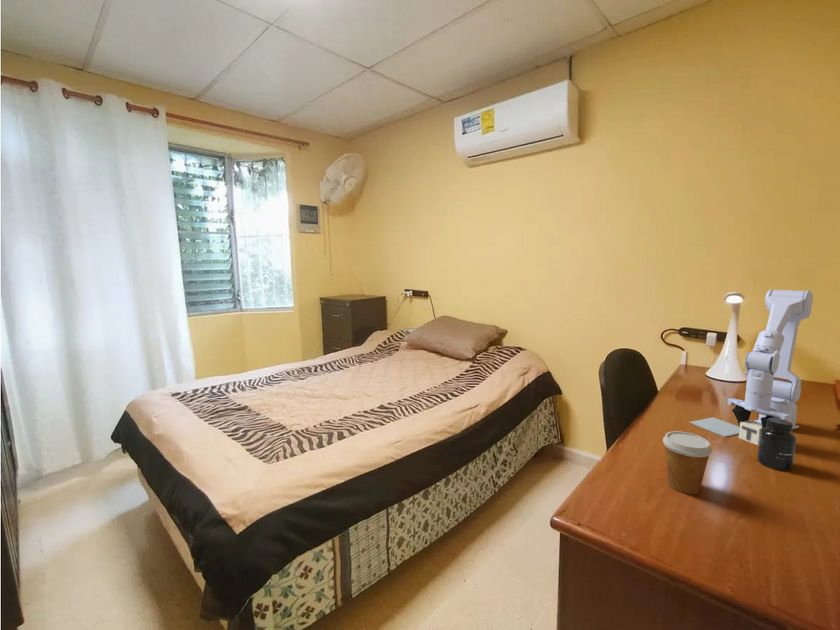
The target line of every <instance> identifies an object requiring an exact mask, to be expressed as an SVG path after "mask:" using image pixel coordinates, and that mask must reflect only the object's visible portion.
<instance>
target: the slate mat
mask: <svg viewBox="0 0 840 630" xmlns="http://www.w3.org/2000/svg"><path fill="white" fill-rule="evenodd" d="M691 423H692V425H693V424H694V426H695V427H698V428H701V429H703V430H707V431H709V432H712V433H713V434H716V435H720V436H722V437H724V438H727V437H731V436H736V435H739V425H736V424H733V423H731V422H727V421H725V420H721V419H718V418H716V417H713V416H712V417H708V418H703V419H697V420H694V421H688V424H691Z"/></svg>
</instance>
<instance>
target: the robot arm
mask: <svg viewBox="0 0 840 630" xmlns="http://www.w3.org/2000/svg"><path fill="white" fill-rule="evenodd" d="M813 299H814V294H813V292H812V291H811V290H794V289H793V290H790V289H774V288H772V289H769V290H767V292H766V295H765V299H764V304H765V307H766V309H767V311H768V313H769V316H768V319H767V324H766V327H765V330H762V331H760V332H759V333H758V335H757V338H756V341H755V343H754V345H753V348H752V351H748V352H747V354H746V356H745V360H744V367H745V375H746V385H745V394H744V400H743V399H738V398H734V397H729V398H728V399H727V406H728V405H729V406H734V408H732V409H731V410H732V413H733V415H734V416H735V418H736V421H737V423H738V427H739V428H740V422H744V421H748V420H750V416H751V414H752V412H753V413H756V414H759V415H758V419H756V420H755V419H754V420H753V421H756V422H759V423H762V429H763V428H764V427H767V426H766V423H767V419H768V418H779V419H783V420H786V421H789V422H791V423H792V424H793V427H792V430H796V429H799V428H800V426H799V425H796V424H797V416H798V414H797V413H798V405H797V404H796V402H798V401H799V399H800V396H801V391H802V386H801V385H802V380H801V377H800V376H798V375H797V374H795V373H794V372H793V371H792V370H791V369H792V364H793V359H794V354H795V353H794V352H795V347H796V341H797V337H798V332H799V331H798V330H799V326H800V324H801V321H802V320H805V319H808V318H810V315H811V313H812V307H813V301H814V300H813ZM777 378H778V379H777ZM782 379H783V380H782Z"/></svg>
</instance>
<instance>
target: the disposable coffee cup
mask: <svg viewBox="0 0 840 630" xmlns="http://www.w3.org/2000/svg"><path fill="white" fill-rule="evenodd" d="M662 443H663V445H664V453H665V466H666V477H667V478H666V479H667V484H668V486H669V487H670V488H671V489H673V490H675V491H677V492H679V493H682V494H687V495H696V494H699V493H700V491H701V487H702V483H703V479H704V476H705V472H706V468H707V464H708V459H709V457H710V455H711V454H712V452H713V448H712V447H711V443H710V442H709V440H708V439H706V438H704V437H702V436H701V435H698V434H694V433H691V432H685V431H676V430H673V431H668V432H666V433H665V436H664V437H663V438H662Z"/></svg>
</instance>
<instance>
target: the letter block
mask: <svg viewBox="0 0 840 630" xmlns="http://www.w3.org/2000/svg"><path fill="white" fill-rule="evenodd" d="M761 430H762V423H759V422H756V421H754V420H752V419H749V420H748V421H744V422H740V428H739V434H738V439H740V440H743V441H745V442H748V443H750V444H754V445H756V446H759V440H760V432H761Z"/></svg>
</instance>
